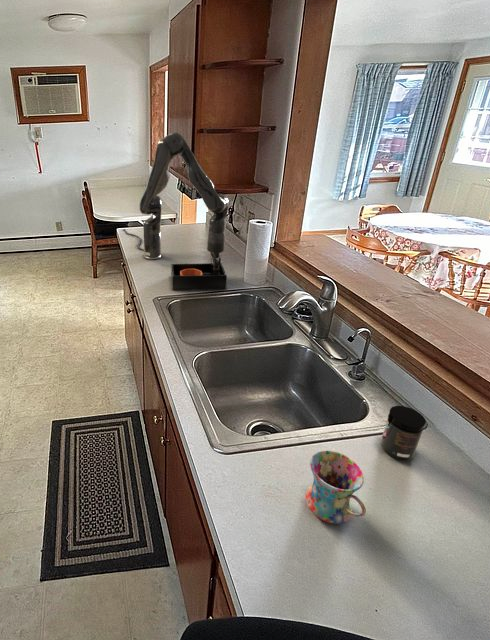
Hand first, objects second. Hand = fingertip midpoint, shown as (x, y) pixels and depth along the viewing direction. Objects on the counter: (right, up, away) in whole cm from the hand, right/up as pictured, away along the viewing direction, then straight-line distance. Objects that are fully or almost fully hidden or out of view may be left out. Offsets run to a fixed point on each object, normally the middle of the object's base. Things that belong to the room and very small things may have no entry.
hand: (214, 273), depth 179 cm
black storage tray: (-7, -4, +2) cm, 9 cm away
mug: (+2, -50, -100) cm, 112 cm away
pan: (-6, -3, +1) cm, 7 cm away
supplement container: (+24, -43, -87) cm, 100 cm away
